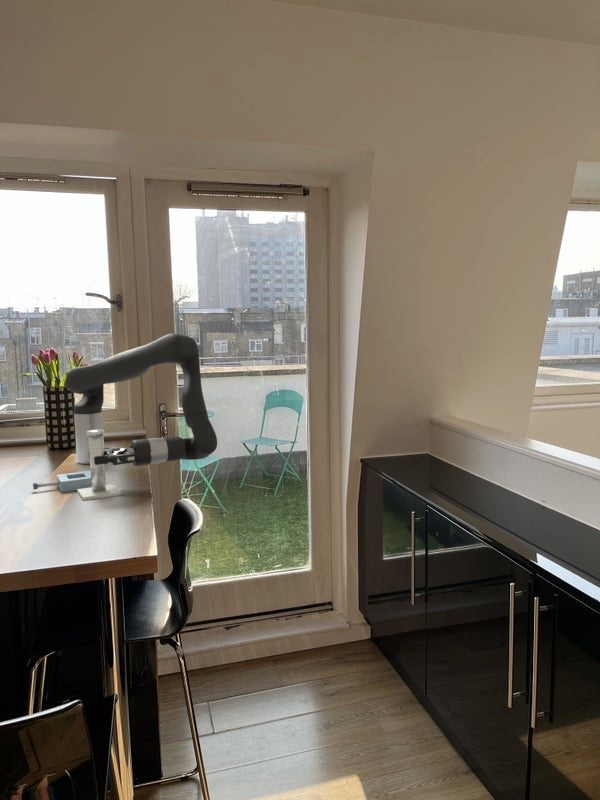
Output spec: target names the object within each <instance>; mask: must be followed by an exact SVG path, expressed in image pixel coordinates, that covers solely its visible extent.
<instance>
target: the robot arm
mask: <svg viewBox="0 0 600 800" xmlns="http://www.w3.org/2000/svg"><path fill="white" fill-rule="evenodd" d="M195 340H196V339H194V338H192V337H191V336H189V335H185V334H180V333H168V334H165V335H162V336H161V337H159V338H157V339H156V340H154V341H151V342H149V343H147V344H144V345H141V346H138V347H134V348H132V349H128V350H125V351H121V352H119V353H116V354H114V355H112V356H109V357H107V358H104V359H102V360H100V361H97V362H95V363H92V364H89V365H84V366H78V367H76V366H75V367H73V368H72V369H70V370H69V371H68V373H67V375H66V376H65V380H64V381H65V382H64V383H65V385H66V386H65V387H66V388H67V390H69V391H70V392H71V393H73V394H77V395H82V397H81V398H80V400H79V401H78V402H76V403H75V404H74V405H73V418H74V433H75V435H74V436H75V450H76V451H75V452H76V463H77V464H84V465H87V464H90V452H89V436H87V431H89V430H104V424H103V422H104V421H103V413H102V412H103V405H104V393H105V392H104V389H105V387H104V385H106V384H107V385H108V384H116V383H120V382H121V383H122V382H126V381H129V380H132V379H136V378H139V377H142V376H143V375H144V374H145V373H147V371H148V370H149V369H150V368H151V367H153V366H157V365H161V364H174V365H175V364H177V365H179V366H180V368H181V371H182V374H183V375H182V376H183V388H182V393H181V402H180V403H181V407H182V413H183V417H184V420H185V423H186V424H185V425H186V426H187V427H188V428H190V430H191V432H192V435H193V437H188V438H187V437H185V438H183V437H181V436H170V437H169V436H168V437H153V438H152V437H151V438H143V439H133V440H131V443H130V447H125V445H119V446H118V445H117V446H108V447H105V442H104V438H103V447H104V456H96V457H94V464H95V465H100V464H105V465H107V464H109V465H113V466H117V465H125V464H132V465H133V466H134V467H140V466H148V465H156V464H157V465H158V464H161V463H164V462H172V461H173V462H174V461H180V460H183V461H184V460H187V461H190V460H193V461H195V460H196V461H197V460H203V459H205V458H208V457H209V456H210V455H212V454H213V453H214V452H215V451H216V450H217V448H218V438H217V434H216V431H215V429H214V426H213V425H212V423H211V421H210V419H209V415H208V410H207V406H206V402H205V399H204V398H205V397H204V394H203V387H202V377H201V376H202V375H201V367H200V355H199V348H198V344H197V342H196V341H195Z"/></svg>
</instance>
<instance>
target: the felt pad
mask: <svg viewBox="0 0 600 800" xmlns="http://www.w3.org/2000/svg"><path fill="white" fill-rule="evenodd" d="M76 492H77V494H78V495H79V497H80V498H81V499H82V501H88V500H89V501H90V500H95V499H101V498H102V499H104V498H108V497H116V496H121V495H122V493H121V491H120V490H119V489H118V488H117V487H116V486H115V484H106V491H103V492H92V487H90V488H82V489H77V490H76Z"/></svg>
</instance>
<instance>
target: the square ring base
mask: <svg viewBox="0 0 600 800" xmlns="http://www.w3.org/2000/svg"><path fill="white" fill-rule="evenodd" d="M55 477H56V481H51V482H45V483H43V482H42V483H37V482H33V483H32V489H33V490H38V488H43V487H51V486H57V487H58V489H59V490H60V492H61V493H64V492H65V493H67V492H73V491H77V489H82V488H90V487H92V486H91V470H87V471H86V470H85V471H76V472H70V473H61V474H60V473H59V474H56V476H55Z"/></svg>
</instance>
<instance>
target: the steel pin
mask: <svg viewBox="0 0 600 800" xmlns="http://www.w3.org/2000/svg"><path fill="white" fill-rule="evenodd" d="M104 435H105V430H104V429H103V430H89V431H87V436H89V452H90V465H89V468H90V469H89V470H90V471H91V486H92V492H103V491H106V485H107V484H106V471H105V469H106V468H105V467H106V466H105V465H106V464H100V465H95V464H94V457H96V456H104V447H105V446H104V447H103V439H104Z"/></svg>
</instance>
